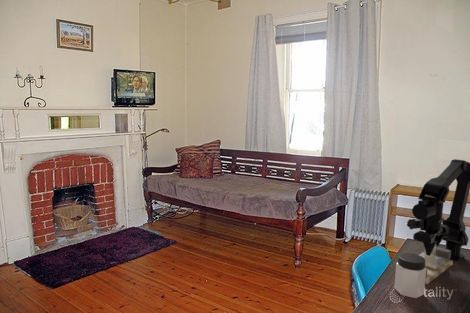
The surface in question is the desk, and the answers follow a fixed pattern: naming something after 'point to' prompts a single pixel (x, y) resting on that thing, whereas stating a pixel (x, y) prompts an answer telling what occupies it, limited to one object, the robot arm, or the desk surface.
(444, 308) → the desk surface
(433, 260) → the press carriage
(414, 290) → the jar
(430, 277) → the base
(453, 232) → the robot arm
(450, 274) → the desk surface
